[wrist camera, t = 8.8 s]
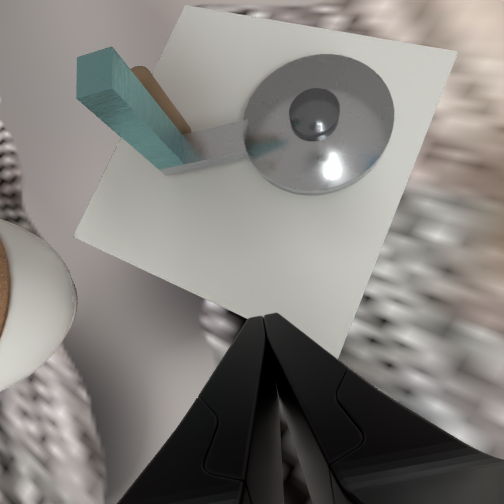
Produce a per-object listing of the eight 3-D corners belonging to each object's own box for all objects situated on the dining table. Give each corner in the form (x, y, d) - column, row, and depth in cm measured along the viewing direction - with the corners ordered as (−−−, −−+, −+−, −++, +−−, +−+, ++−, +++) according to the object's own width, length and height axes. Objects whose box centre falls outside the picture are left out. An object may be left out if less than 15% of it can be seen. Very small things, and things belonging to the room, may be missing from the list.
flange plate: (375, 49, 22) (409, -121, 13) (405, 179, 20) (468, 78, 11) (162, 105, 25) (77, -3, 17) (168, 222, 23) (75, 169, 14)
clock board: (336, 357, 20) (343, 381, 13) (83, 240, 26) (-2, 214, 19) (451, 65, 22) (509, -47, 15) (191, 17, 28) (148, -78, 21)
